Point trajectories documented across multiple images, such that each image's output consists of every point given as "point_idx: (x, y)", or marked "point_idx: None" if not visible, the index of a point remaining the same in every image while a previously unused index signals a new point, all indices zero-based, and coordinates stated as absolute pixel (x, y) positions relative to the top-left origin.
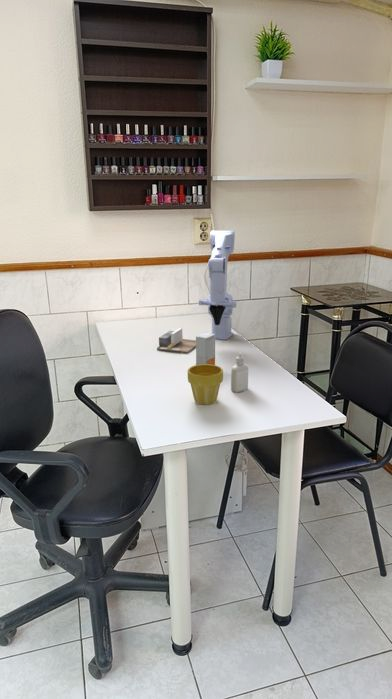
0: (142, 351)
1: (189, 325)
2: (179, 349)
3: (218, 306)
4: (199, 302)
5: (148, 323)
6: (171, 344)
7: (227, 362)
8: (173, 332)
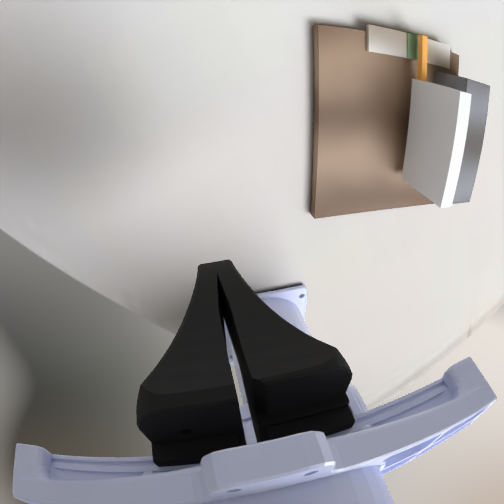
0: (481, 31)
1: (396, 340)
2: (370, 39)
3: (226, 443)
4: (481, 380)
5: (488, 291)
6: (425, 70)
7: (37, 19)
8: (465, 117)
